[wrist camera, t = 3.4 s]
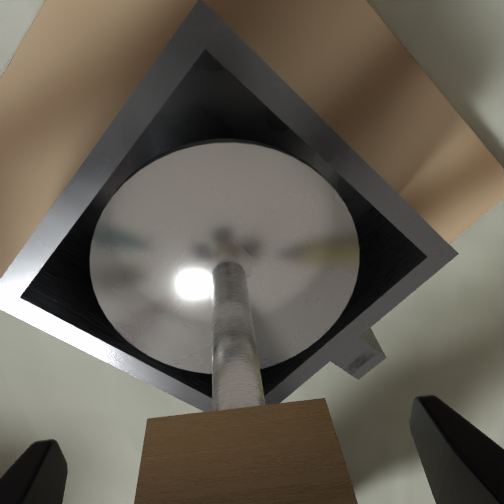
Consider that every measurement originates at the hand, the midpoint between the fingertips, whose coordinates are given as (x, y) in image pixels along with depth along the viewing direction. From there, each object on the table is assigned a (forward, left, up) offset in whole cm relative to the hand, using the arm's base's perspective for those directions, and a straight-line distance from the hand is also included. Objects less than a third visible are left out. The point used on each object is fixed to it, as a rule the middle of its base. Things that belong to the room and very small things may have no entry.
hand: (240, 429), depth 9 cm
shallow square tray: (-1, 0, -12) cm, 12 cm away
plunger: (0, 0, -7) cm, 7 cm away
